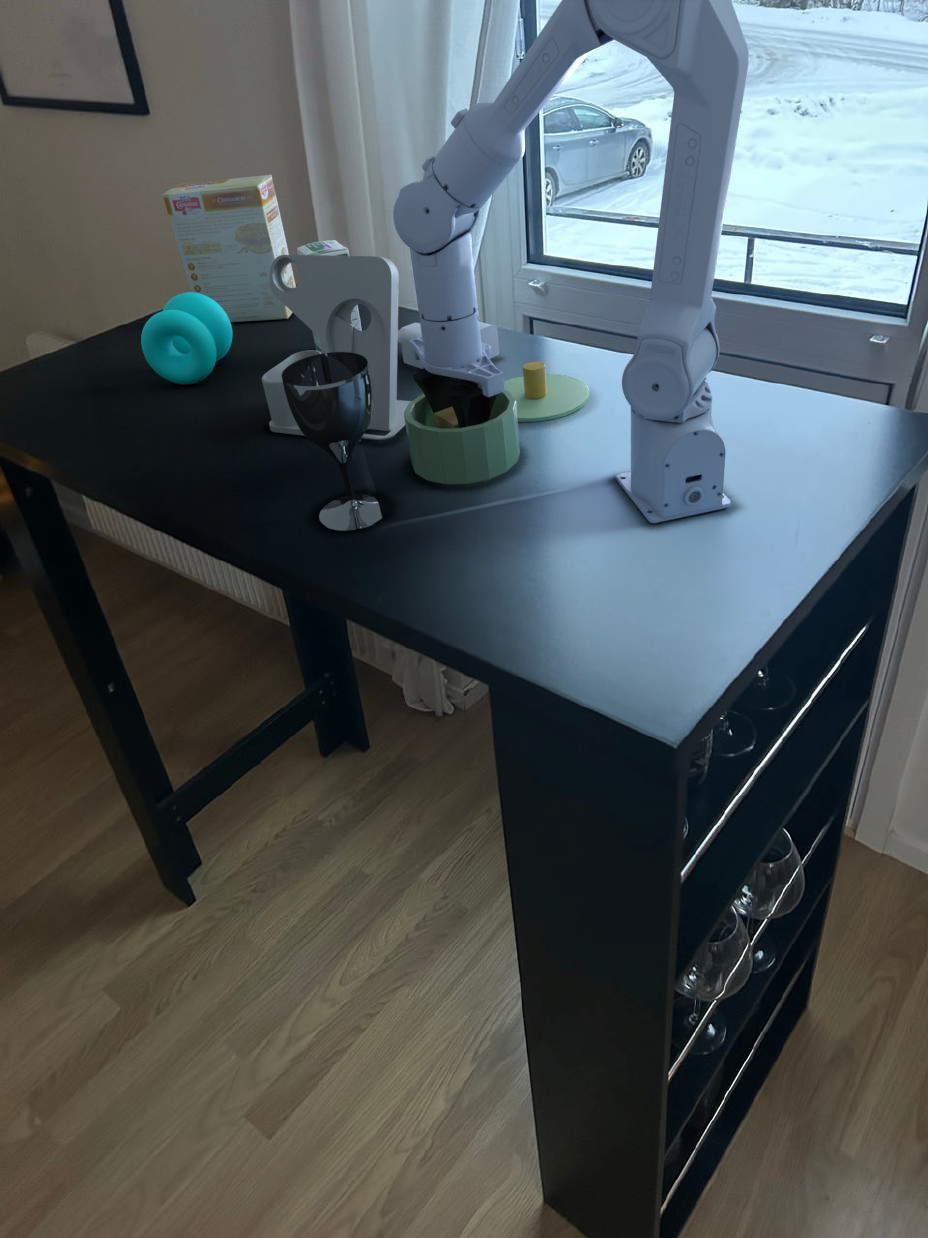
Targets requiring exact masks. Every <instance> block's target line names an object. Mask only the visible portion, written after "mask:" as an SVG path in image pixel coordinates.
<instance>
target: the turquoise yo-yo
mask: <svg viewBox="0 0 928 1238" xmlns="http://www.w3.org/2000/svg"><path fill="white" fill-rule="evenodd" d="M233 337H234V336H233V327H232V322H230V320H229V318H228V316H227V314H226V313H225V311H224V310H223V309H222V307H221V306H220V305H219V304H218V303H217V302H215V301H214V300H213V299H211V298H209V297H207V296H205V295H203V294H199V293H193V292H190V291H187V292H182V293H179V294H177V295H174V296H173V297H171V298H170V299H169V300H168V301H167V302H166V303H165V305H164V306H163V309H162V310H161V311H159V312H157V313H155V314H153V315H152V316H151V317H150V318H148V320H147V321H146V323H145V324H144V325H143V328H142V332H141V336H140V344H141V349H142V354H143V355H144V359H145V360H146V362H147V364H148V365H149V367H151V369H152V370H153V371H154V372H155V373H156V374H157V375H159V376H160V377H161V378H163V379H165V380H166V381H169V382H171V383H174V384H178V385H184V386H185V385H186V386H187V385H194V384H197V383H199V382H202V381H204V380H205V379H206V378H208V376H209V375H210V374H211V373H212V372H213V371H214V368H215V366H216V362H218V361H220V360H222V359H223V358H224V357H225V356H226V355H227V354H228V352H229V351H230V349H231V346H232V343H233Z"/></svg>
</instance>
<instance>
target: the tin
mask: <svg viewBox="0 0 928 1238" xmlns="http://www.w3.org/2000/svg"><path fill="white" fill-rule="evenodd" d="M411 401H412V402H410V403H409V404H408V406H407V408H406V410H405V412H404V418H405V424H406V425H405V430H406V438H407V442H408V449H409V455H410V462H411V466H412V468H413V471H414V473H415V474H416V475H417V476H419V477H421V478H423V479H425V480H426V481H429V482H433V483H438V484H441V485H468V484H473V483H478V482H479V483H480V482H484V481H488V480H491V479H494V478H495V477H497V476H500V475H502V474H505V473H507V472H508V471H509V470H510V469H511V468H512V467H514V466H515V465H516V464H517V463H518V462H519V459H520V454H521V445H520V434H519V422H518V419H517V407H516V400H515V398H514V397H513V395H512V394H511V393H510V392H509V391H507V390H505V391H504V392H501V393H499V394H498V395H497V397H496V400H495V402H494V404H493V407H492V410H491V414H490V418H489V421H487V422H485V423H482V424H479V425H474V426H469V427H464V428H449V429H441V428H436V424H435V417H434V413H433V411H432V409H431V406H430V404H429V402H428V400H427V398H426V396H425V395H424V393H422V394H420V395H418V396H417V397H416V398H414V399H413V400H411Z"/></svg>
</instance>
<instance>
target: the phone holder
mask: <svg viewBox="0 0 928 1238" xmlns="http://www.w3.org/2000/svg"><path fill="white" fill-rule="evenodd" d="M289 263H291V264H292V263H293V264H295V265H296V267H297V268H298V281H297V283H296V287H295V288H291V287H289V286H288V285H287V284H286V282H285V279H284V270H285V268H286V266H287V265H288V264H289ZM399 281H400V276H399V270H398V267H397V265H396V264H395V263H394V262H393V261H392V260H391V259H389V258H388V257H383V256H374V255H370V256H369V255H349V256H329V255H298V254H289V255H280V256H278V257H277V258H275V260H274V261H273V262H272V264H271V267H270V287H271V290H272V292H273V294H274V295H275V296H276V297H277V298H278V299H279V300H280V301H281V302H282V303H283V304H284V305H285V306H286V307H288V308H289V309H290V310H291V311H292V312H293V313H292V314H293V315H294V316H296V317H297V318H298V319H299V320H300V321H301V322H302V323H304V325H305V326H306V327H307V328H309V329H310V330H311V331H313V332H314V333H316V334H317V336H318V337H319V339H320V342H321V352H319V351H316V349H315V350H313V349H311V350H310V349H307V350H303V351H299V352H295V353H293V354H291V355H290V356H288V357H286V358H285V359H284V360H282V361H280V362H279V363H278V364H277V365H275V366H274V367H272V368H271V369H269V370H267V372H265V373H264V374H263V375H262V377H261V383H262V386H263V391H264V394H265V398H266V402H267V407H268V410H269V414H270V419H271V420H270V421H269V422H268V425H269V429H270V431H271V432H273V433H278V434H279V433H280V434H286V435H287V434H288V435H295V436H296V435H297V436H304V437H306V436H305V435H304V434H303V433H302V431H301V430H300V428H299V427H298V425H297V423H296V421H295V419H294V417H293V414H292V412H291V409H290V407H289V404H288V401H287V397H286V394H285V390H284V386H283V382H282V372H283V371H284V369H285V368H286V367H288V366H289V365H291V364H292V363H294V362H296V361H298V360H301V359H303V358H306V357H310V356H313V355H318V354H323V353H331V352H350V353H356V354H359V355H362V356H364V357H365V358H366V359H367V361H368V365H369V370H370V376H371V384H372V416H371V421H370V424H369V426H368V428H367V430H375V431H384V432H388V433H387V434H385V435H379V434H369V433H364V435H363V436H362V438H361V439H364V440H365V439H366V440H374V441H384V440H389V439H391V438H393V437H395V436H396V435H397V434H398V433H399V432H400V431H401V430H402V429H403V428H404V427H406V424H405V418H404V412H405V410H406V408H407V406H408V404H409V403H410V402H412V401H413V400H403V399H397V397H398V395H397V394H398V392H397V391H398V389H397V388H398V347H399V346H398V344H399V343H398V331H399V295H400V294H399V290H400V289H399V288H400V285H399V284H400V282H399ZM357 305H358V306H359V305H363V306H365V307H366V308H367V309H368V311H369V313H370V323H369V325H368V326H367V328H366V329H364V330H363V329H362V331H361V330H358V329H357V328H355V326H354V325H353V323H352V319H351V315H352V311H353V309H354V308H355V307H356V306H357ZM313 332H312V333H313ZM361 442H362V440H360V441H359V442H358V443H361Z"/></svg>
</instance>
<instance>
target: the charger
mask: <svg viewBox="0 0 928 1238" xmlns="http://www.w3.org/2000/svg"><path fill="white" fill-rule="evenodd" d="M479 325H480V335H481V343H485V344H487V345H489V346H490V347H491V353H490V354H488V355H487V356H488V357H489V359H490V360H491V359H493V358H495V357H497V356H499V355H500V343H499V342H500V341H499V332H498V327H497V326H496V325H493V324H490V323H486V322H483V321H482V322H481V321H479ZM419 337H422V333H421V326H420V322H413V323H410V324H407V325H404V326H403V327H401V328H400V329H398V344H400V347H401V354H402V361H403V363H404V364H406V365H409V366H412V367H415V368H418V369H420V370H423V369H424V368H423V367H424V366H423V364H422V362H421V360H414V359H412V358H411V354H410V347H409V341H410V340H413V339H416V338H419Z"/></svg>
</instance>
